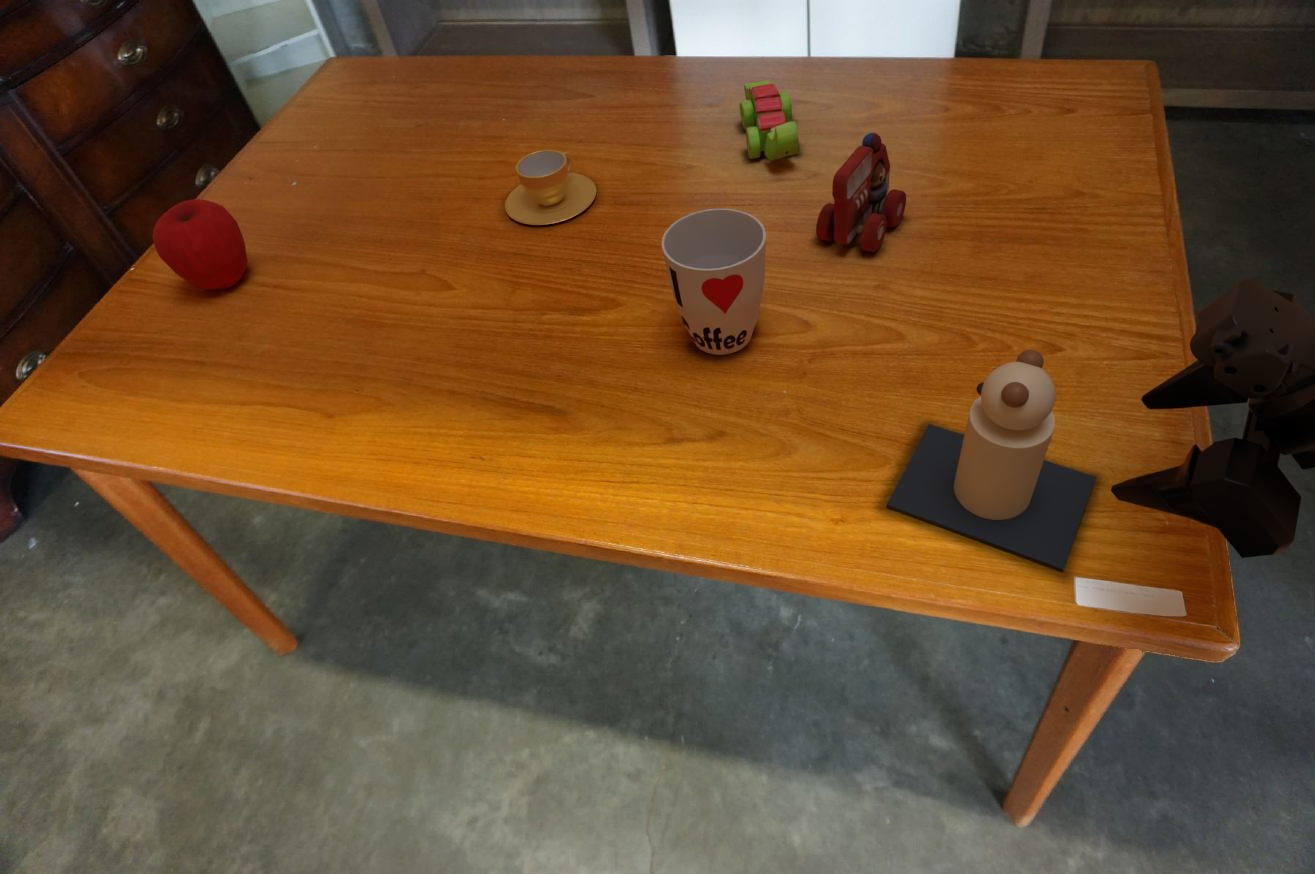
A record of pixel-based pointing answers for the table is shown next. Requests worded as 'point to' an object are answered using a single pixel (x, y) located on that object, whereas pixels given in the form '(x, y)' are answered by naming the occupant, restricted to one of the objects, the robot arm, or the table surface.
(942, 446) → the mat
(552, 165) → the cup
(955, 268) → the table surface
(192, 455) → the table surface
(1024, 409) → the bear
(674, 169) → the table surface
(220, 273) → the apple
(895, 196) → the toy fire truck
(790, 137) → the toy crocodile
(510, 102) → the table surface
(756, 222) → the cup
